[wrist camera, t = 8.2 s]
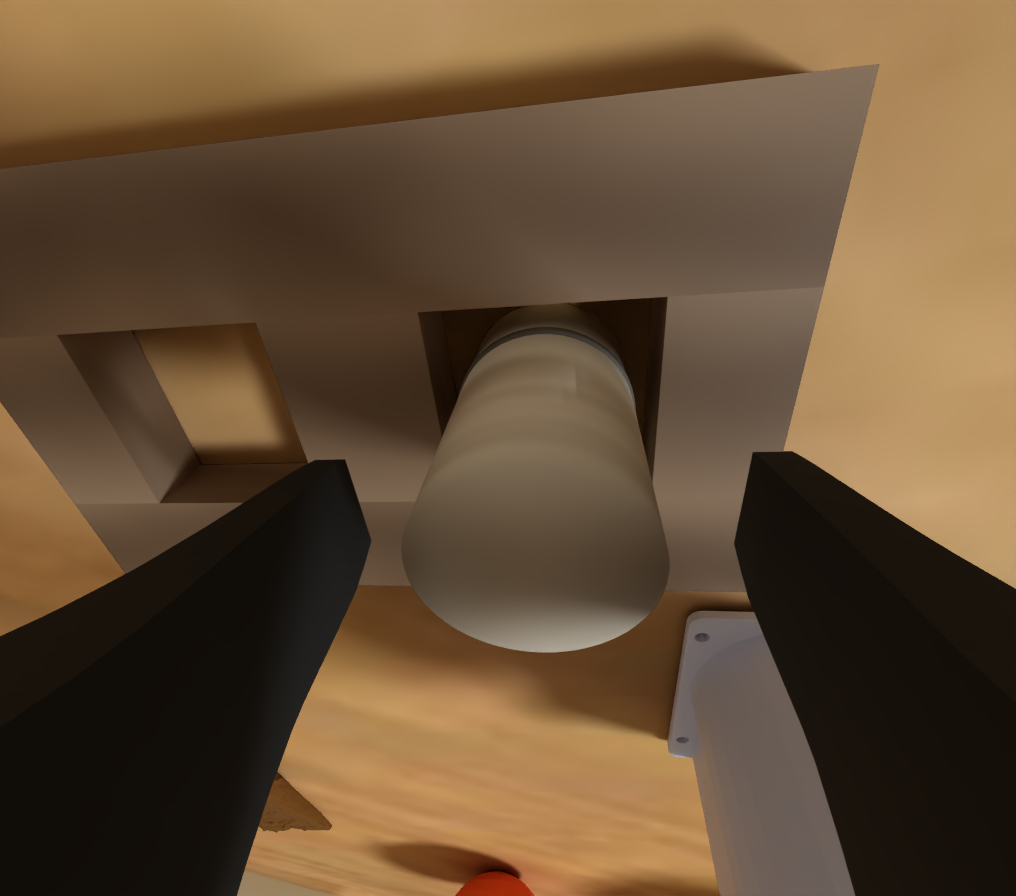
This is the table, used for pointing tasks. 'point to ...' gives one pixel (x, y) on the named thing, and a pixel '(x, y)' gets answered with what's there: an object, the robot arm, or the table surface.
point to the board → (430, 292)
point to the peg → (540, 493)
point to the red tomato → (494, 885)
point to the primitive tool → (290, 810)
